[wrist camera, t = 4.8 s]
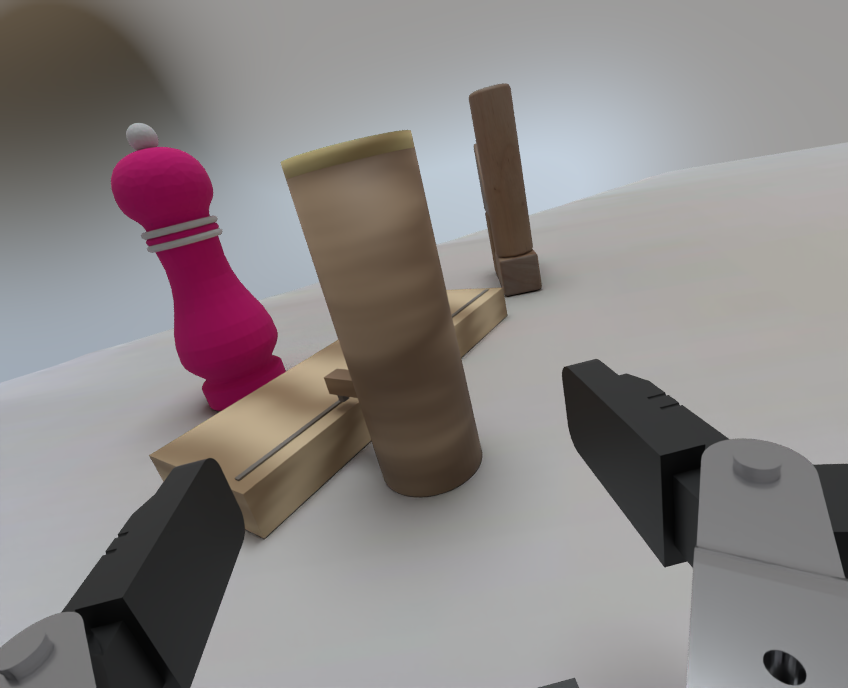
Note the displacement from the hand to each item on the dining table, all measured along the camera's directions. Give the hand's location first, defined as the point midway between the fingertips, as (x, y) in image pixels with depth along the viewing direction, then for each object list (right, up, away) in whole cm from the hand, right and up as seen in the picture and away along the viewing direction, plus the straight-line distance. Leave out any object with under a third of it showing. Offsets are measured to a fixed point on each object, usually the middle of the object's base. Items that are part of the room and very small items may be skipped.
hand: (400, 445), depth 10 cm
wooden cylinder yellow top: (0, -3, +13) cm, 13 cm away
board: (-3, -1, +22) cm, 22 cm away
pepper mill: (-13, -2, +26) cm, 29 cm away
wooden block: (+10, +9, +38) cm, 40 cm away
